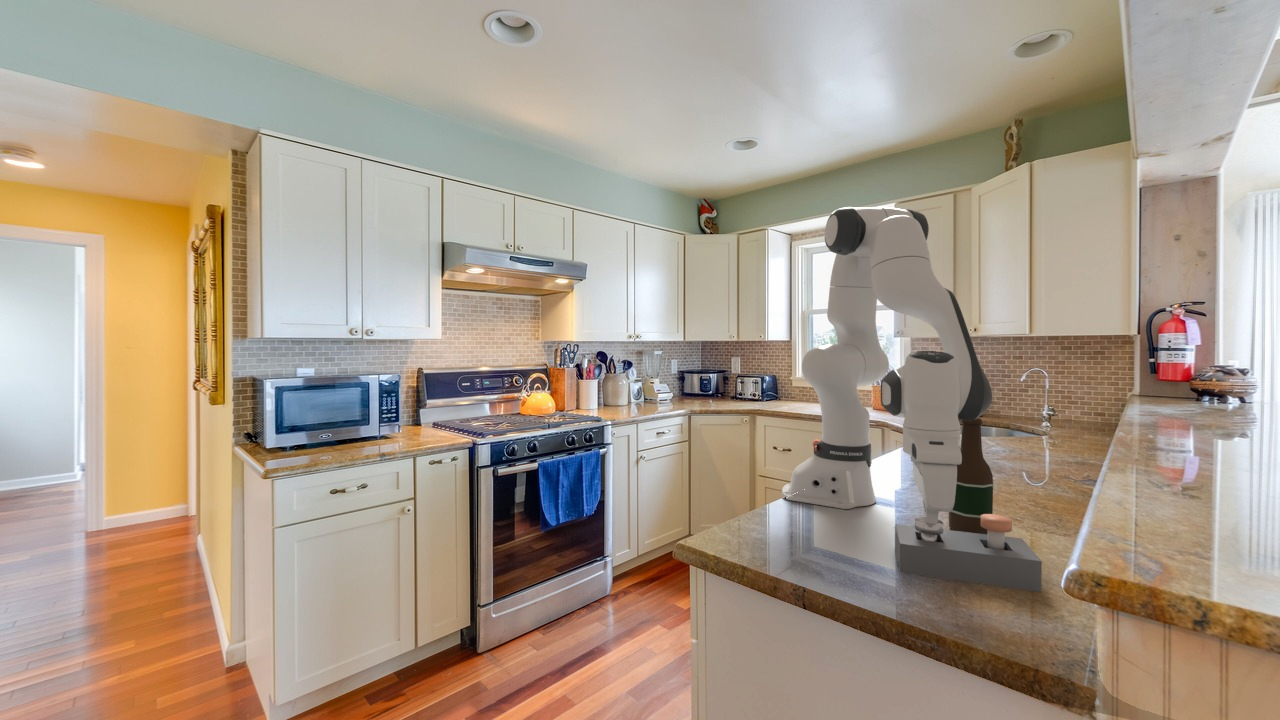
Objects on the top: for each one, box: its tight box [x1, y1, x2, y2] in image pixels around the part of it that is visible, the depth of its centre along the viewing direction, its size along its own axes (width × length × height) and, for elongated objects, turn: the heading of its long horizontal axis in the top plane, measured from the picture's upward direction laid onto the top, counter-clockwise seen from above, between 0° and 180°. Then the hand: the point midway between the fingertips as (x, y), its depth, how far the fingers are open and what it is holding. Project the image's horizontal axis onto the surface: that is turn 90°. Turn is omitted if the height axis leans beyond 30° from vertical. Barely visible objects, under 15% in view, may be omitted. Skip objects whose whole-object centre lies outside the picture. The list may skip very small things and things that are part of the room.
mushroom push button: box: [981, 513, 1013, 550], centre depth 88 cm, size 4×4×6 cm
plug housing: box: [894, 523, 1043, 593], centre depth 90 cm, size 20×10×5 cm, turn 68°
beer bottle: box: [948, 417, 994, 534], centre depth 106 cm, size 8×8×24 cm
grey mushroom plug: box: [914, 516, 944, 542], centre depth 92 cm, size 4×4×6 cm
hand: (930, 521), depth 91 cm, fingers closed, pressing on grey mushroom plug
